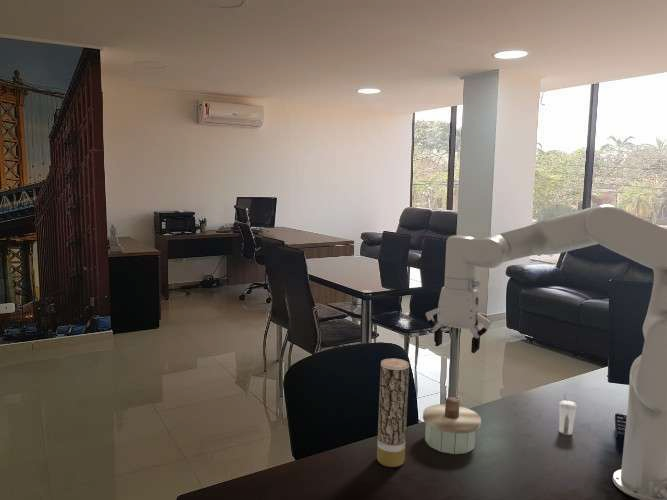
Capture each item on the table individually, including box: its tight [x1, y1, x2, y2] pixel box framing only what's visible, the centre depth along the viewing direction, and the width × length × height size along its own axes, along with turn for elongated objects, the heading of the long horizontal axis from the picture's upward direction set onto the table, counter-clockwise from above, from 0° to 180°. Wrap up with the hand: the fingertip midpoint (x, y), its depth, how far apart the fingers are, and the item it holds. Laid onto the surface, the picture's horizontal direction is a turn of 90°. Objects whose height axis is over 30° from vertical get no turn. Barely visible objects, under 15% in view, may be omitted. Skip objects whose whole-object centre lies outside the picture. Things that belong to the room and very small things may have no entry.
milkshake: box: [558, 393, 578, 436], centre depth 147 cm, size 4×5×10 cm
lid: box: [422, 396, 482, 433], centre depth 139 cm, size 15×15×6 cm
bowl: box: [424, 423, 477, 455], centre depth 140 cm, size 13×13×6 cm
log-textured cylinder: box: [376, 358, 410, 468], centre depth 128 cm, size 7×7×25 cm
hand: (456, 348), depth 137 cm, fingers open, 9 cm apart
